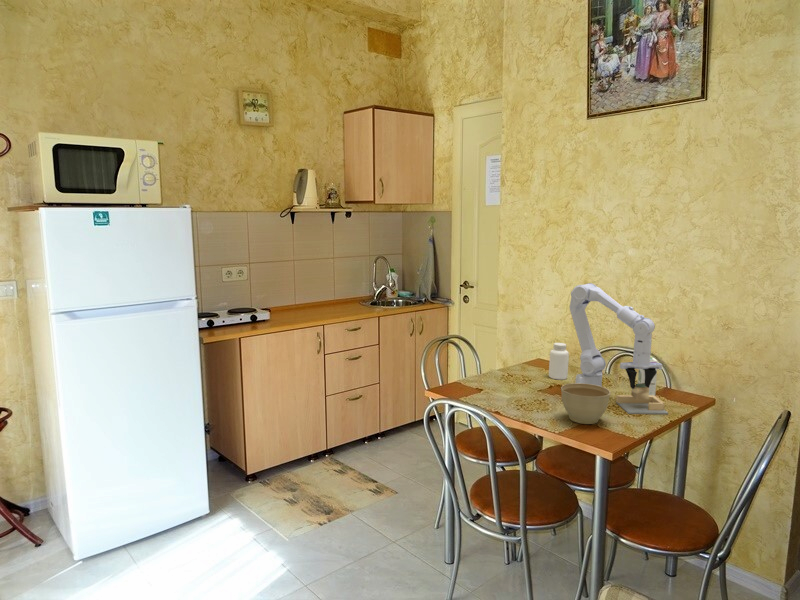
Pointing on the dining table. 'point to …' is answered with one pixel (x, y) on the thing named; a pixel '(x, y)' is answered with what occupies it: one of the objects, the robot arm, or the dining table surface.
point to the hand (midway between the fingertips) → (639, 387)
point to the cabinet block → (640, 392)
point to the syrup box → (642, 378)
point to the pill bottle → (558, 361)
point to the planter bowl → (585, 402)
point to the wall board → (641, 405)
